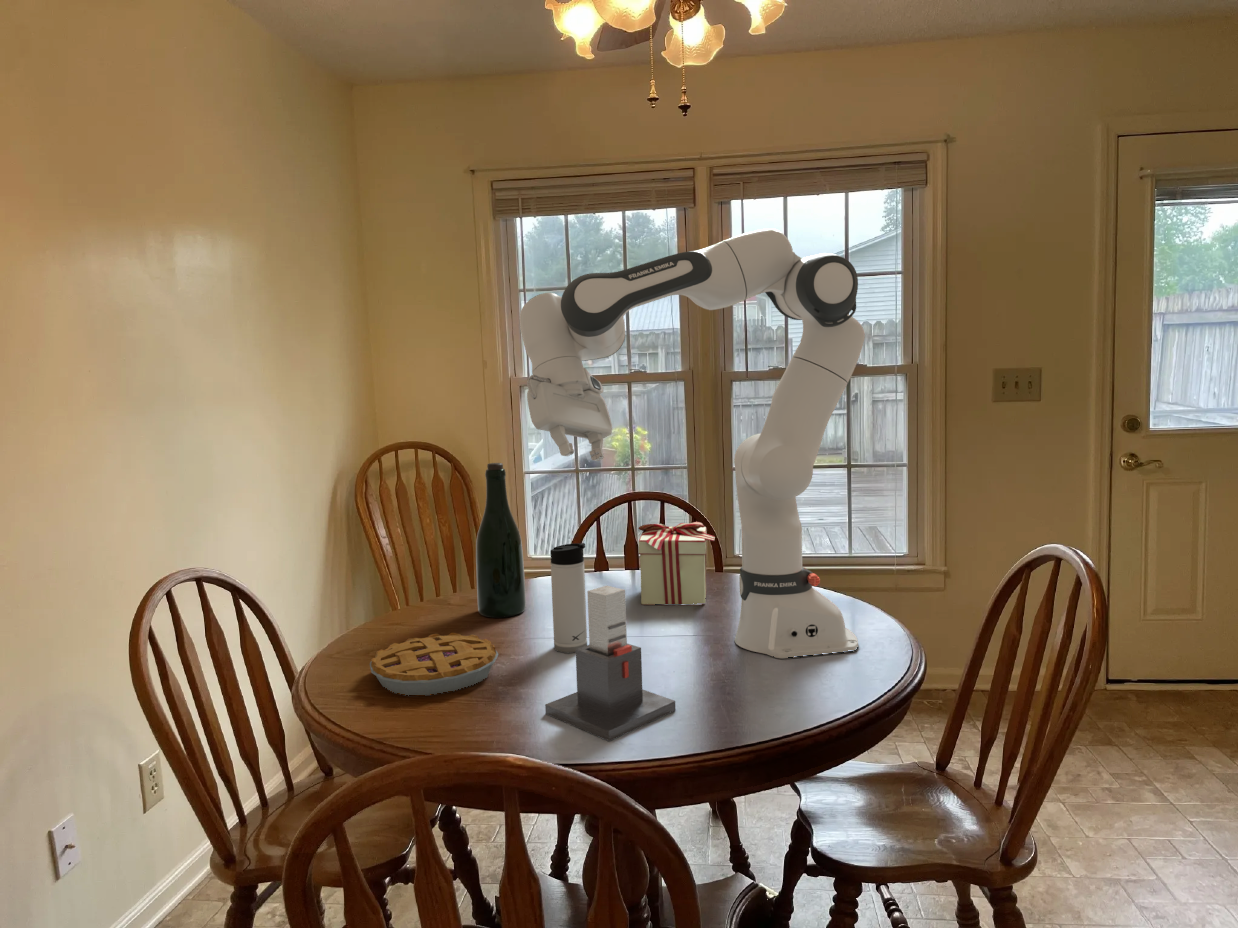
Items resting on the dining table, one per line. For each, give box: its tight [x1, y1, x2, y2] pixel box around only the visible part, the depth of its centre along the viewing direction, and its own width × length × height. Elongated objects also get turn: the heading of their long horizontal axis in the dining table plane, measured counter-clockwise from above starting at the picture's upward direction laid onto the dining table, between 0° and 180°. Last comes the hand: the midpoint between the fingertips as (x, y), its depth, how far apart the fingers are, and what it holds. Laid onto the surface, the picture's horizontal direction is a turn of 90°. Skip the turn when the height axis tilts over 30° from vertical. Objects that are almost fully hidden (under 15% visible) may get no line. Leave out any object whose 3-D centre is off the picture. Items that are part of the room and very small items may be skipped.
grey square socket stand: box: [544, 643, 677, 742], centre depth 123 cm, size 14×14×11 cm
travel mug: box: [549, 542, 588, 654], centre depth 153 cm, size 6×7×20 cm
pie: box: [369, 632, 499, 697], centre depth 142 cm, size 22×22×5 cm
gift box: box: [637, 521, 716, 606], centre depth 184 cm, size 17×18×17 cm
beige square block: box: [587, 585, 628, 657], centre depth 123 cm, size 4×4×17 cm
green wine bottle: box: [475, 462, 527, 619], centre depth 177 cm, size 10×10×33 cm
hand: (583, 457), depth 137 cm, fingers open, 8 cm apart
